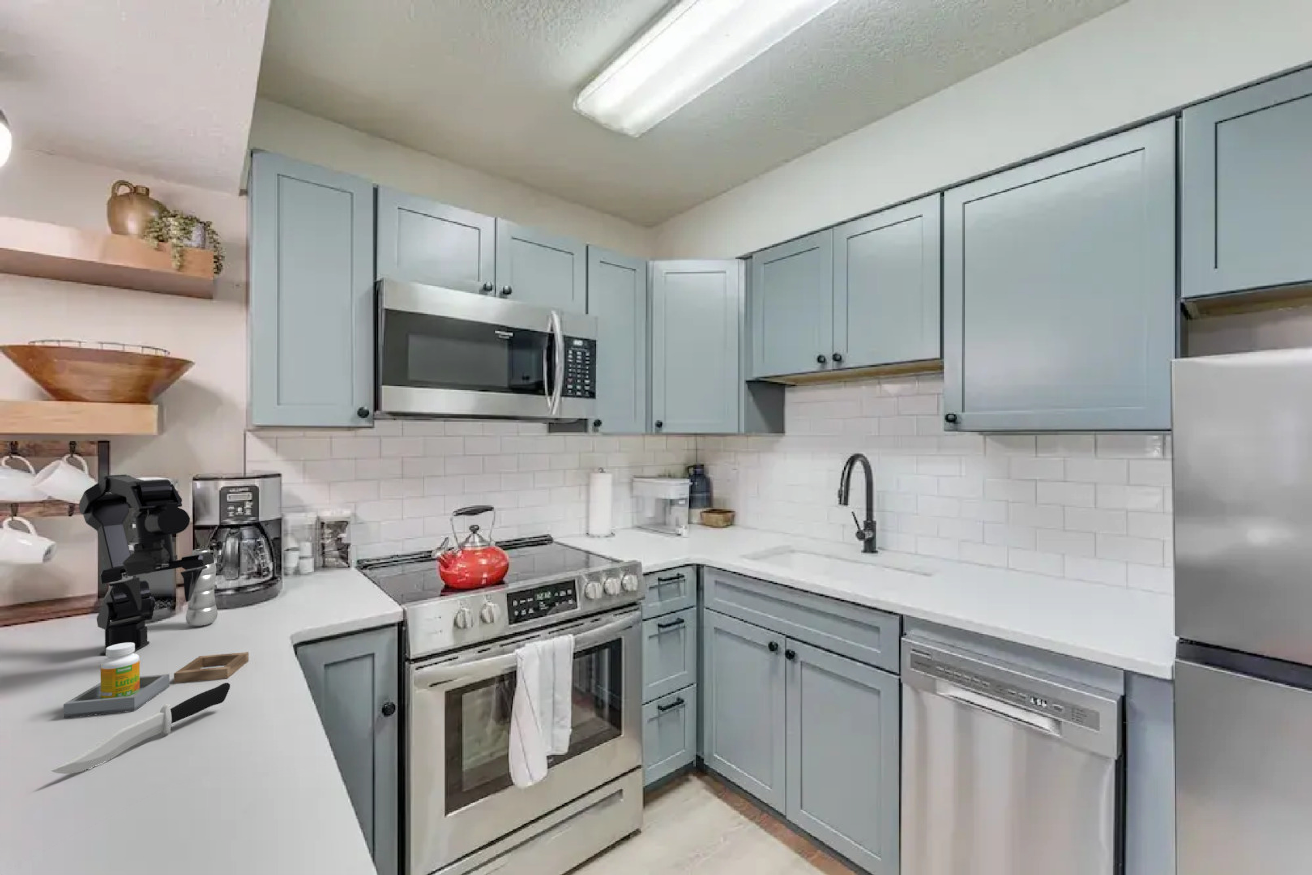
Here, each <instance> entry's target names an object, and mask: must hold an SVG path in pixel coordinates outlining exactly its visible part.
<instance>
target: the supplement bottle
mask: <svg viewBox="0 0 1312 875" xmlns="http://www.w3.org/2000/svg"><path fill="white" fill-rule="evenodd" d="M134 651H135V643H131V642H130V643H120V644H115V645H112V646H109V647H107V648H106V655H105V657H107V658H106V659H104V660H103V661H102V662H101V664H100V683H101V699H105V698H115V697H126V696H133V695H134V694H136V693H137V692H139V691H140V676H141V675H140V671H141V670H140V668H141V666H140V665H141V659H140V655H139V654H137V653H134ZM135 652H136V651H135Z"/></svg>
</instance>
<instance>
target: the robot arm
mask: <svg viewBox="0 0 1312 875" xmlns="http://www.w3.org/2000/svg"><path fill="white" fill-rule="evenodd" d="M180 495H181V494H179V492H178V491H177V489H176V488H175V485H174V484H173V483H172V481H170V480H169V479H168V478H167V479H165V478H164V479H151V480H150V479H146V480H144V479H140V478H136V477H132V476H131V475H127V474H108V475H105V476H101V477H100V478H99V481H98V482H97V483H96V484H94V485H93V486H90V487H89V488H88V489H86V490H84V492H83V494H82V495H81V498H80V500H79V505H78V509H79V512H80V514H81V515H82V516H83V519H84V522H85V524H87V525H88V526H89V527H91V528H93V529H94V531H96V533H97V535H98V536H97V537H98V540H99V543H100V544H99V545H100V549H101V553H102V558H103V562H104V566H105V569H103V570H101V572H100V574H99V582H100V585H102V584H107V583H109V584H108V586H109V588H108V590H107V592H106V594H105V596H104V598H103V599H102V601H103V603H102V606H101V608H100V611H99V613H98V615H97V616H96V622H97V628H100V629H102V630H104V650H103V651H101V652H99V655H100V656H106V648H107V647H109V646H112V645H115V644H120V643H130V642H131V643H135V651H134V652H136V651H138V650H140V649H142V648H144V647H145V646H147V645H149V644H150V640H148V627H147V626H146V621H151V620H153V616H154V611H155V605H156V599H155V597H154V595H153V594H152V593H151V591H150V586H149V582H147V581H146V580H140V577H139V576H138V575H144V574H151V573H155V572H162V571H167V570H172V569H175V570H176V569H180V568H182V569H184V571H181V572H180V575H181V576H182V578H183V590H184V599H185V602H186V603H188V601H190V600H191V597H192V594H193V591H194V588H195V585H196V583H197V580H198V578H199V576H200V574H201V572H202V570H203V569H206V568H207V566H206V565H209V564H212V563H214V561H215V560H214V556H213V554H212V553H211V552H210V553H209V552H205V553H199V554H192V553H191V554H189V555H186V556H182V557H181V559H178V554H174V546H173V543H174V542H176V537H174V536H173V535H176V534H180V533H181V532H184V531H185V530H186V529H187V528H188V527H189V525H190V521H191V517H190V515H189V514H188V512H187V511H186V510H184V509H183V503H182V502H183V499H182V497H181V496H180ZM130 507H131V508H132V509H133V510H134V511H135V512H133V514H132V518H133V519H134V523H135V524H134V525H135V532H136V539H137V543H134V547H133V548H134V552H133V553H131V551H130V547H129V543H128V539H127V535H126V530H125V526H124V522H125V520H126V518H127V516H128V515H129V512H130ZM214 564H215V563H214ZM137 576H138V577H137ZM134 652H133V653H134Z"/></svg>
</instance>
